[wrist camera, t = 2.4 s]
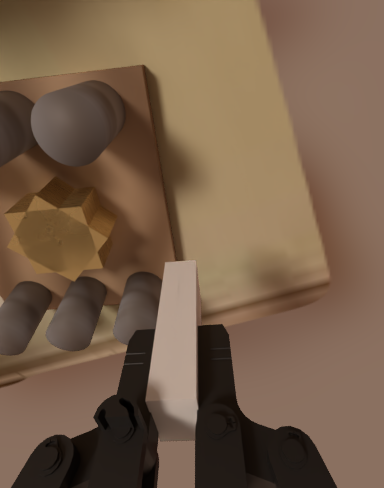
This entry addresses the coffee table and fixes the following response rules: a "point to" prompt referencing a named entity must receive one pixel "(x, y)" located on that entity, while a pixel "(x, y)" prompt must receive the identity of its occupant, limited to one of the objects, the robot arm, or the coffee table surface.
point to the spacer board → (80, 176)
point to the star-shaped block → (62, 229)
